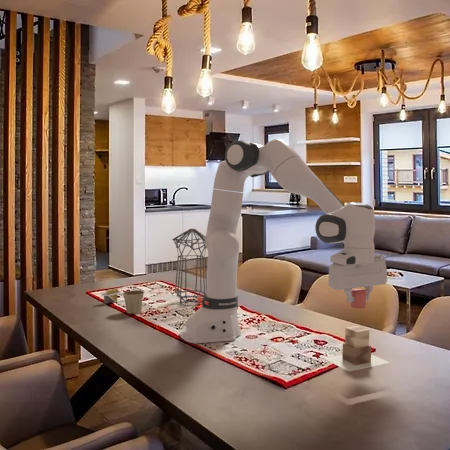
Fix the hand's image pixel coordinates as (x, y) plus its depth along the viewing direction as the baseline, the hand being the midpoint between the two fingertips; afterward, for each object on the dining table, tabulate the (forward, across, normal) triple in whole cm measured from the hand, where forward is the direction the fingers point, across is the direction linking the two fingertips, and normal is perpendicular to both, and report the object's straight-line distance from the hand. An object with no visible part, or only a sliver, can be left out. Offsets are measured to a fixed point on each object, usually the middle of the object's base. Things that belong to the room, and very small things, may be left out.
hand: (358, 301), depth 149 cm
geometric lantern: (+20, +16, -94) cm, 97 cm away
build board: (+20, 0, 0) cm, 20 cm away
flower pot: (+20, +45, -90) cm, 103 cm away
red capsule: (+2, 0, 0) cm, 2 cm away
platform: (+20, +49, -111) cm, 124 cm away
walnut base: (+18, 0, 0) cm, 19 cm away
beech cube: (+14, 0, 0) cm, 14 cm away
